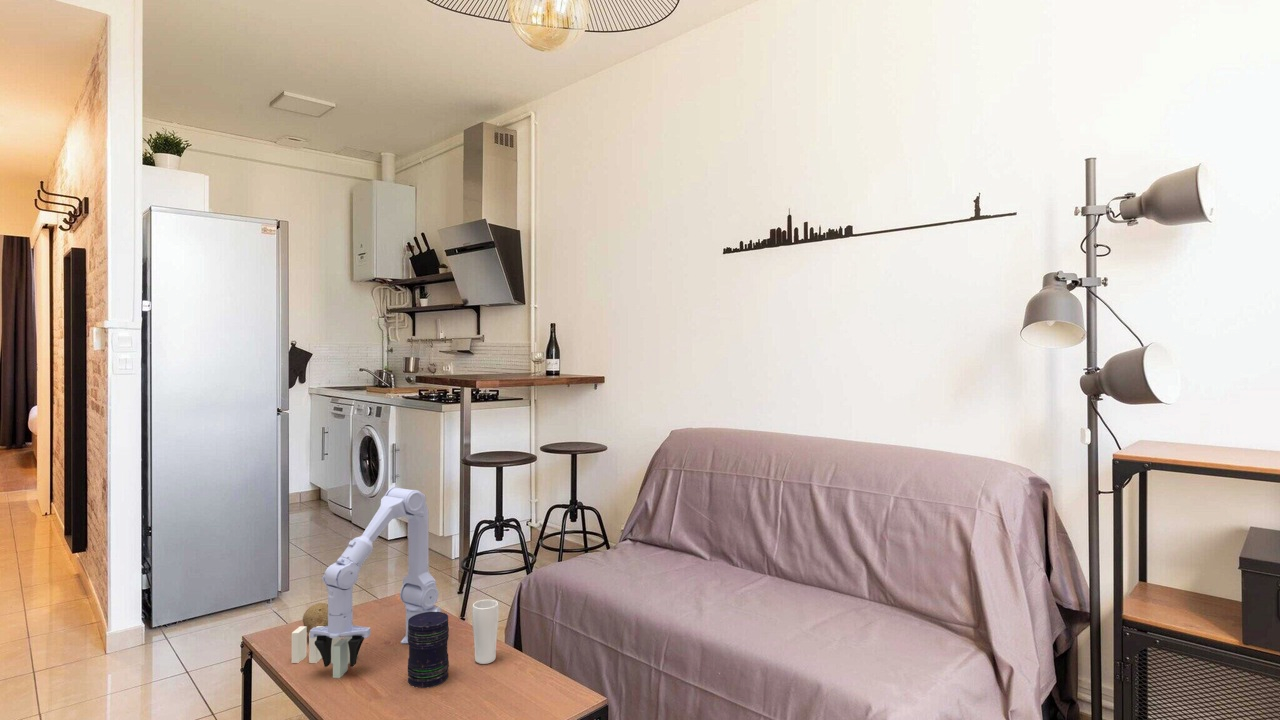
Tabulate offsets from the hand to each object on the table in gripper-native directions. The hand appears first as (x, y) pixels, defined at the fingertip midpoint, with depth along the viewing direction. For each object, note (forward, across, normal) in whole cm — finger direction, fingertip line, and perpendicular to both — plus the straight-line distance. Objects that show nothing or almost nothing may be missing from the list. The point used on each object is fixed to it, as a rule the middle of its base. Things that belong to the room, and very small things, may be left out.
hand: (340, 665), depth 170 cm
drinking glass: (+2, +35, +8) cm, 36 cm away
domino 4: (+2, 0, 0) cm, 2 cm away
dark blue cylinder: (+2, +23, -2) cm, 23 cm away
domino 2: (+2, -10, +8) cm, 13 cm away
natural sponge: (+2, -15, +22) cm, 26 cm away
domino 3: (+2, -5, +8) cm, 10 cm away
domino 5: (+2, -1, +8) cm, 8 cm away
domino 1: (+2, -14, +8) cm, 17 cm away
